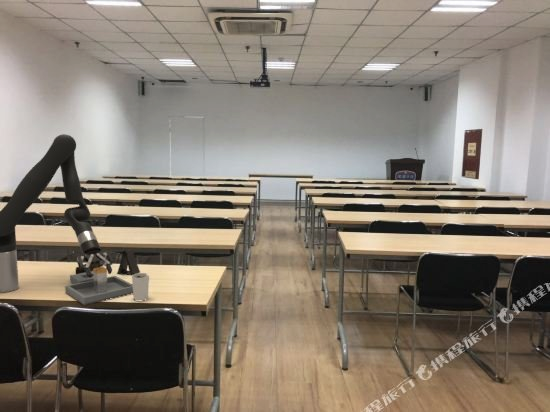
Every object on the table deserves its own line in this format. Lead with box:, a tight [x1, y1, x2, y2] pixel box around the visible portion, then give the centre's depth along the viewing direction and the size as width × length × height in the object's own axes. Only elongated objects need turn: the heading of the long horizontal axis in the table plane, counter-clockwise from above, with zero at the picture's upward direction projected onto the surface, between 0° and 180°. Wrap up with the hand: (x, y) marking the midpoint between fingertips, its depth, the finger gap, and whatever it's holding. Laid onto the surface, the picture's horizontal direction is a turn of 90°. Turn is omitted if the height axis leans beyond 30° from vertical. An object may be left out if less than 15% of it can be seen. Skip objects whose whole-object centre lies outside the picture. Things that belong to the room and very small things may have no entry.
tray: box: [64, 275, 133, 306], centre depth 185 cm, size 22×20×3 cm
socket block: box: [69, 270, 94, 284], centre depth 199 cm, size 12×12×3 cm
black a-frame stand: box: [116, 248, 141, 277], centre depth 213 cm, size 9×6×12 cm, turn 78°
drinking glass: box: [131, 272, 150, 301], centre depth 178 cm, size 7×7×10 cm
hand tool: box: [75, 256, 105, 274], centre depth 219 cm, size 23×5×6 cm, turn 170°
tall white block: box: [92, 266, 108, 293], centre depth 184 cm, size 4×4×10 cm
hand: (100, 274), depth 184 cm, fingers open, 8 cm apart
